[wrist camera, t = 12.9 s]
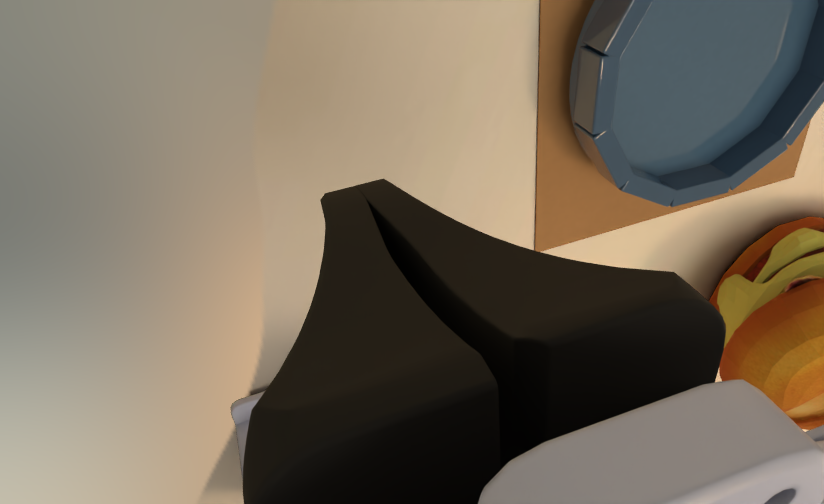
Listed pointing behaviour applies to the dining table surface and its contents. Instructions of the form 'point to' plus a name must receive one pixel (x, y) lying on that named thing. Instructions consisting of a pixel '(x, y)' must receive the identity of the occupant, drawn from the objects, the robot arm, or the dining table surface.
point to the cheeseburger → (778, 319)
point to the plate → (694, 91)
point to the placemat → (569, 164)
